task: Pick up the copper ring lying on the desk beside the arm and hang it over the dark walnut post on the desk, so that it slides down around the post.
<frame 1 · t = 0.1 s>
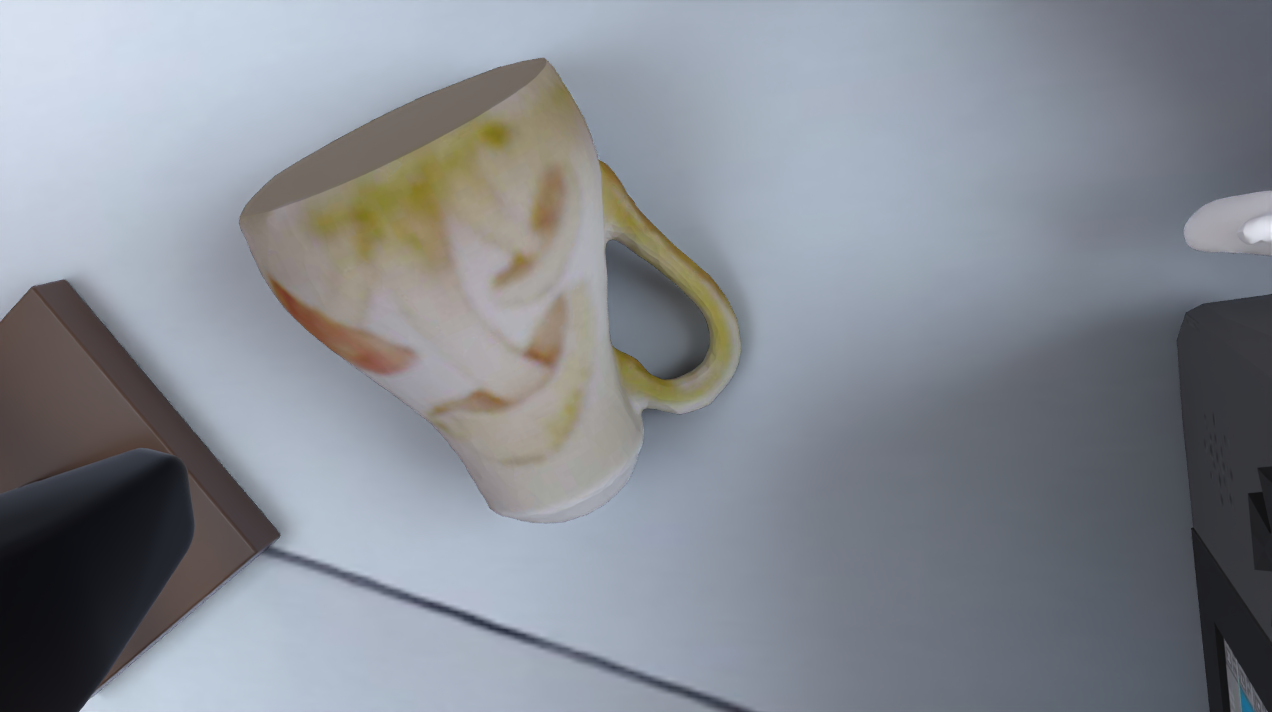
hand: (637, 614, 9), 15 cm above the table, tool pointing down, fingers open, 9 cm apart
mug: (548, 282, 25), on the table
post: (80, 498, 30), on the table
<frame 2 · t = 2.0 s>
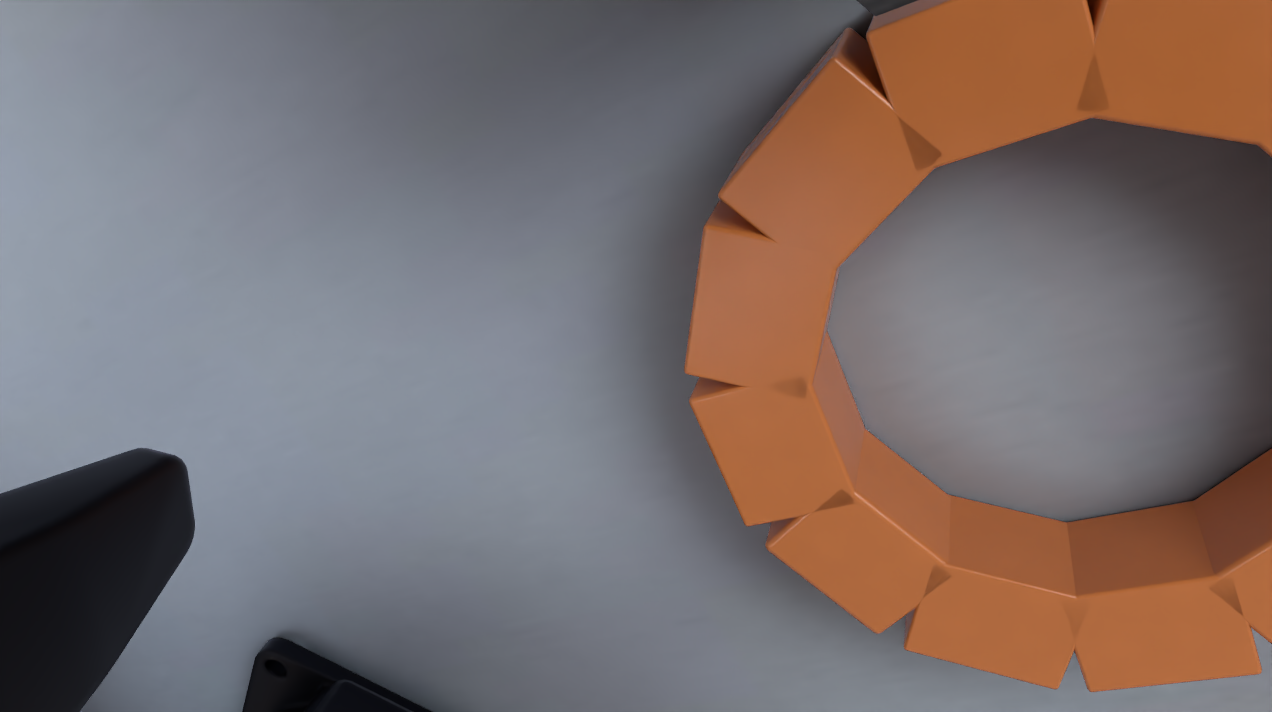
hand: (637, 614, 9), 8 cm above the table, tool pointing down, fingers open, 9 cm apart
ring: (1071, 322, 15), on the table
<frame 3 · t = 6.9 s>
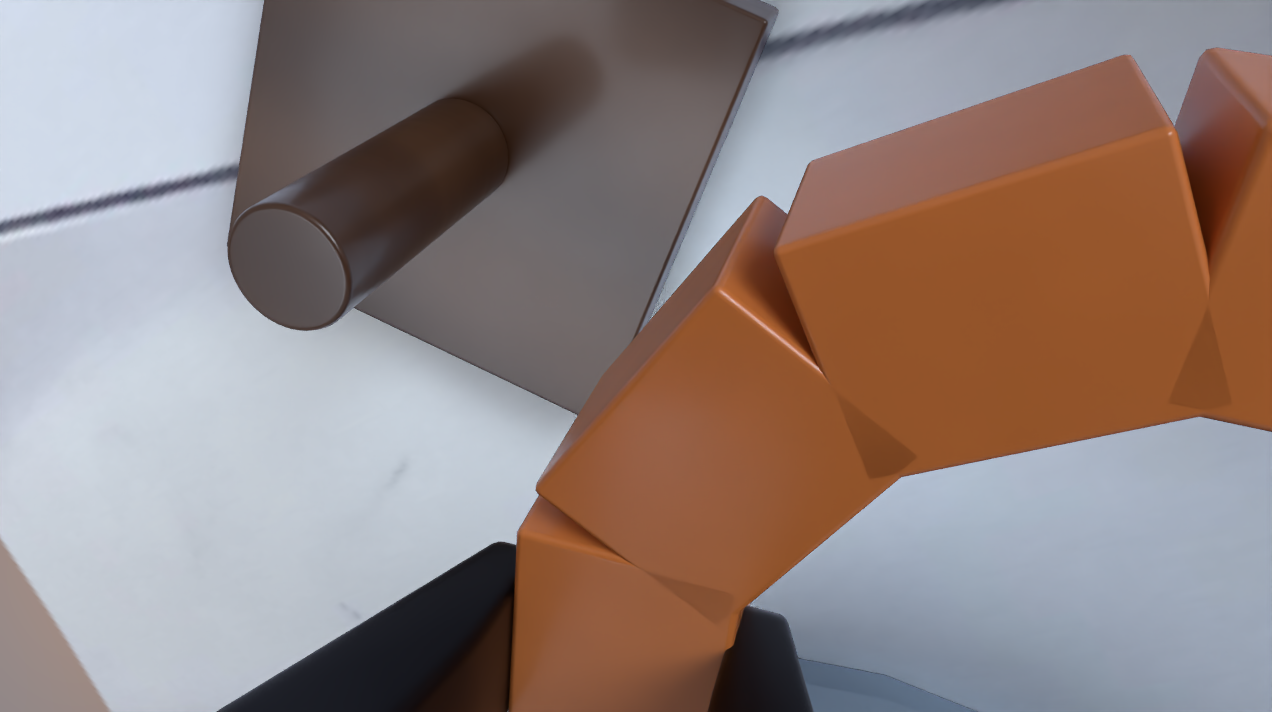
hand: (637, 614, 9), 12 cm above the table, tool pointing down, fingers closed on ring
ring: (1129, 649, 9), point 11 cm above the table, touching gripper
post: (486, 132, 21), on the table
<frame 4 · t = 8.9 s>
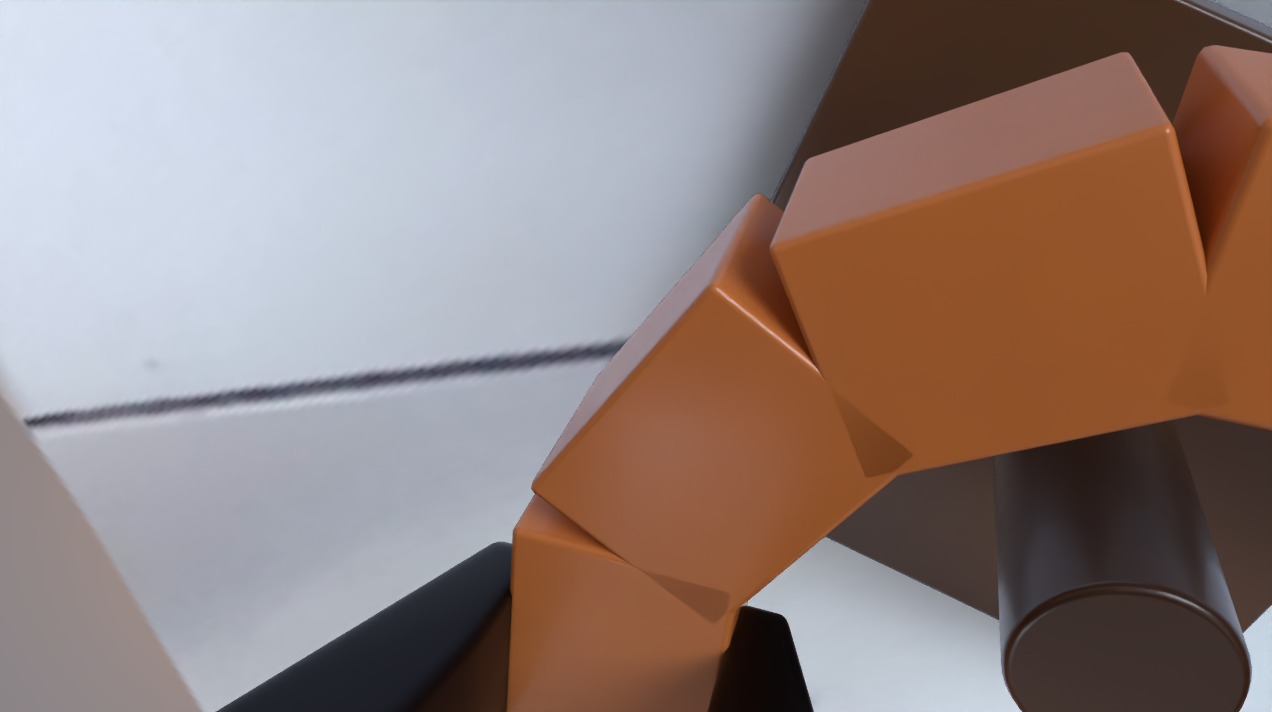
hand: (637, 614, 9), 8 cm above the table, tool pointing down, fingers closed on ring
ring: (1126, 649, 9), point 7 cm above the table, touching gripper
post: (1060, 318, 15), on the table
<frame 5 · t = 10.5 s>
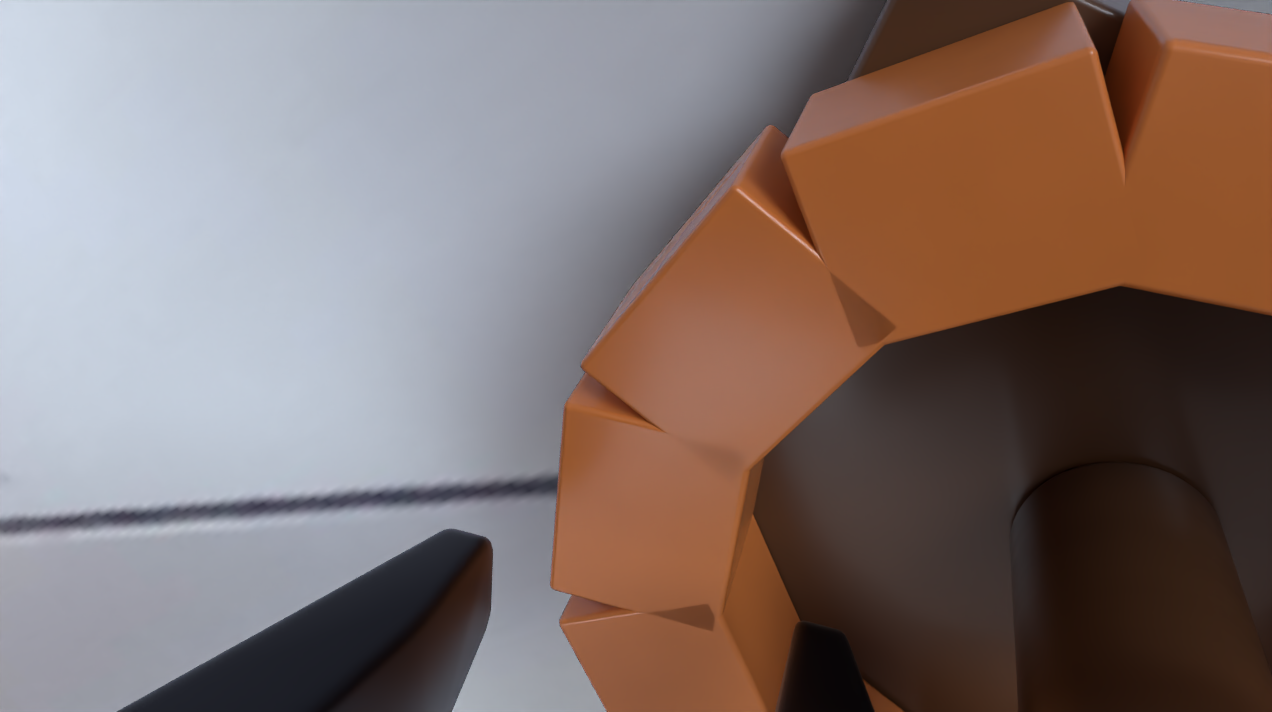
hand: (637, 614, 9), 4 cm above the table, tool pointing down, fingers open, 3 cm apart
ring: (1081, 522, 11), point 1 cm above the table, touching post
post: (1100, 474, 12), on the table
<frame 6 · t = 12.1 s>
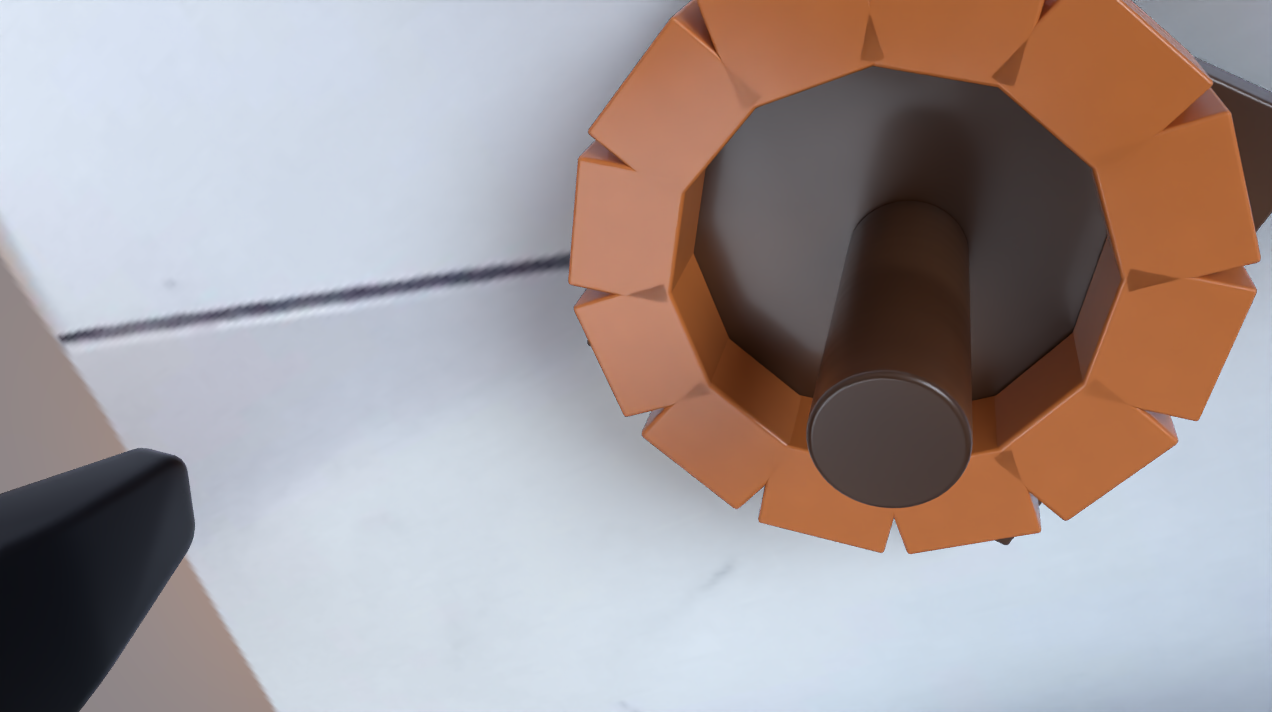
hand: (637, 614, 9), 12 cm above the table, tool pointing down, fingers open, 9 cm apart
ring: (888, 243, 18), point 1 cm above the table, touching post
post: (910, 228, 19), on the table
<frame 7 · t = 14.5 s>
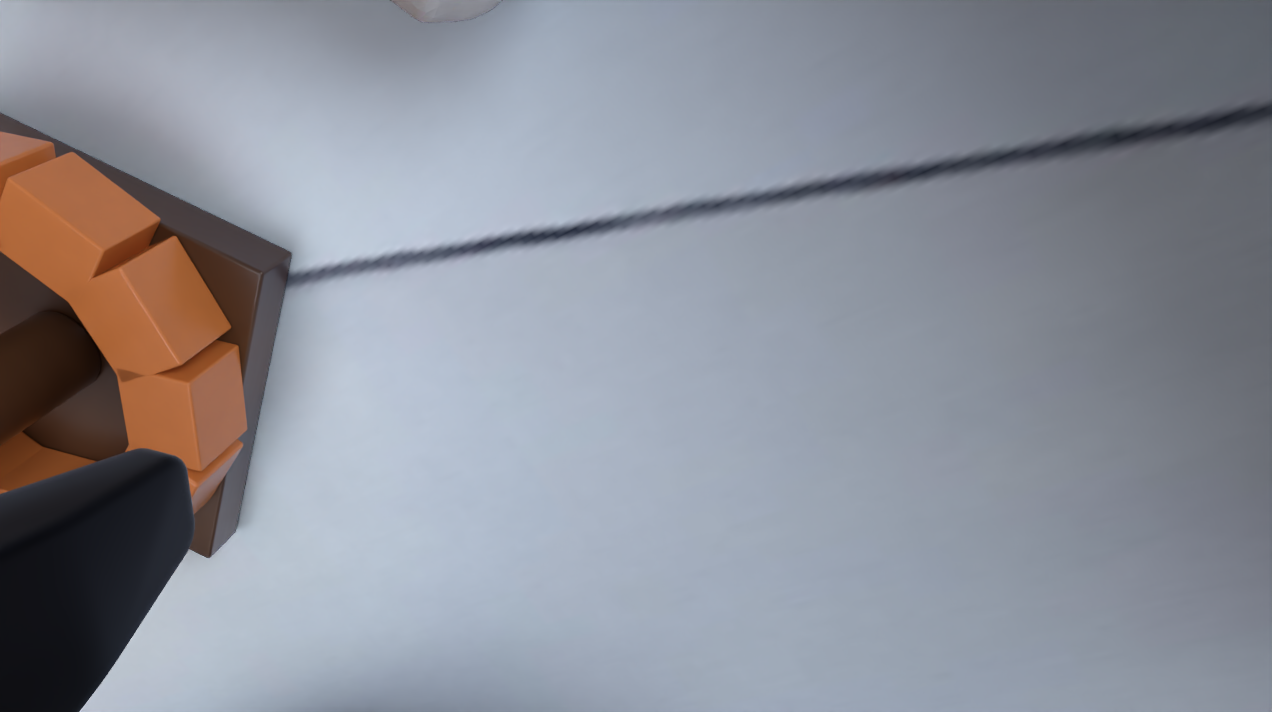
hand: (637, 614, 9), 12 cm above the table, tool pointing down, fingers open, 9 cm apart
ring: (51, 340, 25), point 1 cm above the table, touching post
post: (100, 325, 26), on the table
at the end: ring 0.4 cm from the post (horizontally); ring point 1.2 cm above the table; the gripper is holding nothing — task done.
